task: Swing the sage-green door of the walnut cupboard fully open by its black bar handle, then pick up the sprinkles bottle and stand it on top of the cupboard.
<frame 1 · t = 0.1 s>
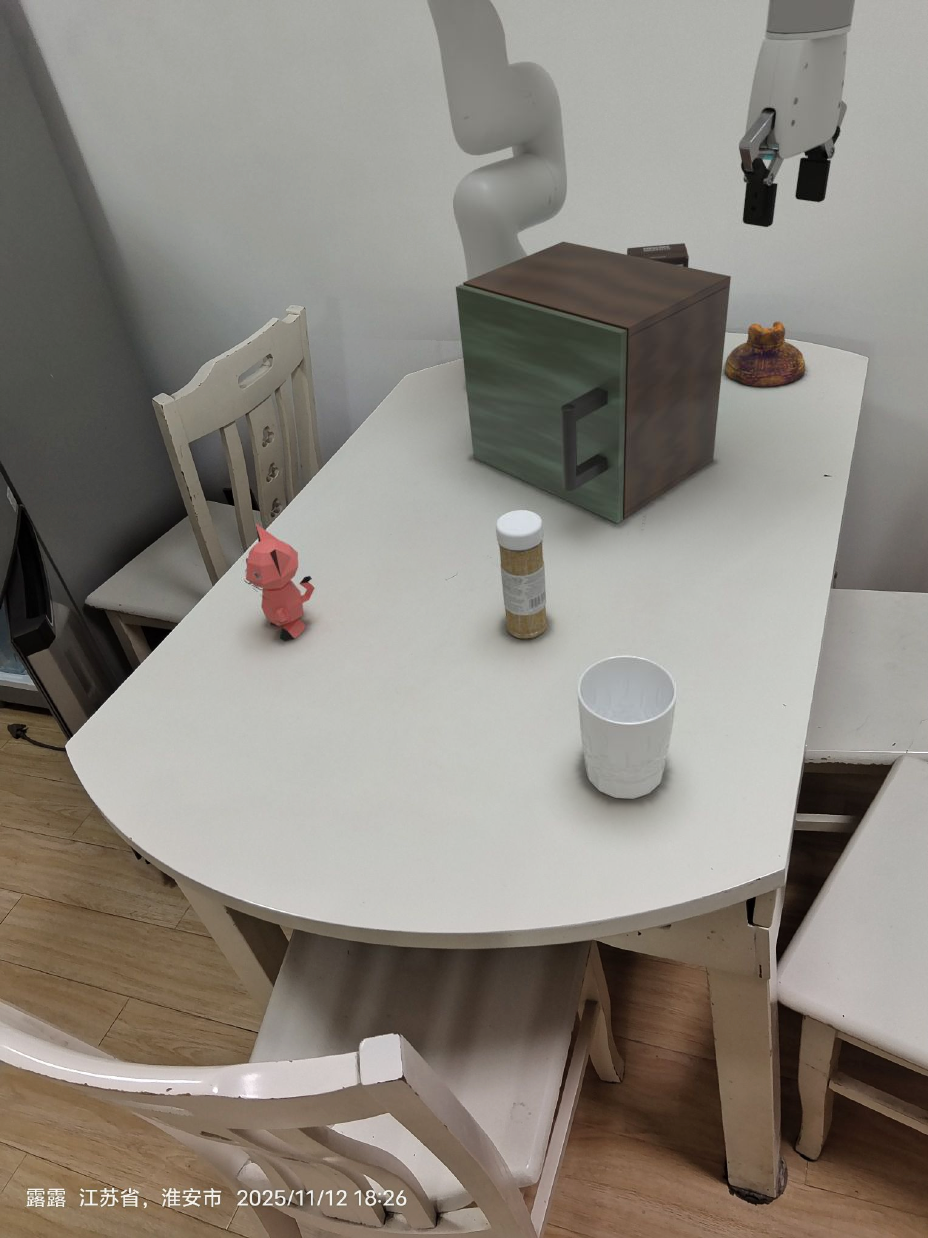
hand: (784, 211, 90), 31 cm above the table, tool pointing down, fingers open, 9 cm apart
white cup: (624, 770, 75), on the table
coffee box: (653, 353, 141), on the table
door: (520, 412, 103), point 12 cm above the table, hinge at 0.0°
cat figurine: (292, 625, 95), on the table
bell: (763, 372, 131), on the table
cupboard: (592, 458, 116), on the table
sprinkles bottle: (526, 628, 91), on the table
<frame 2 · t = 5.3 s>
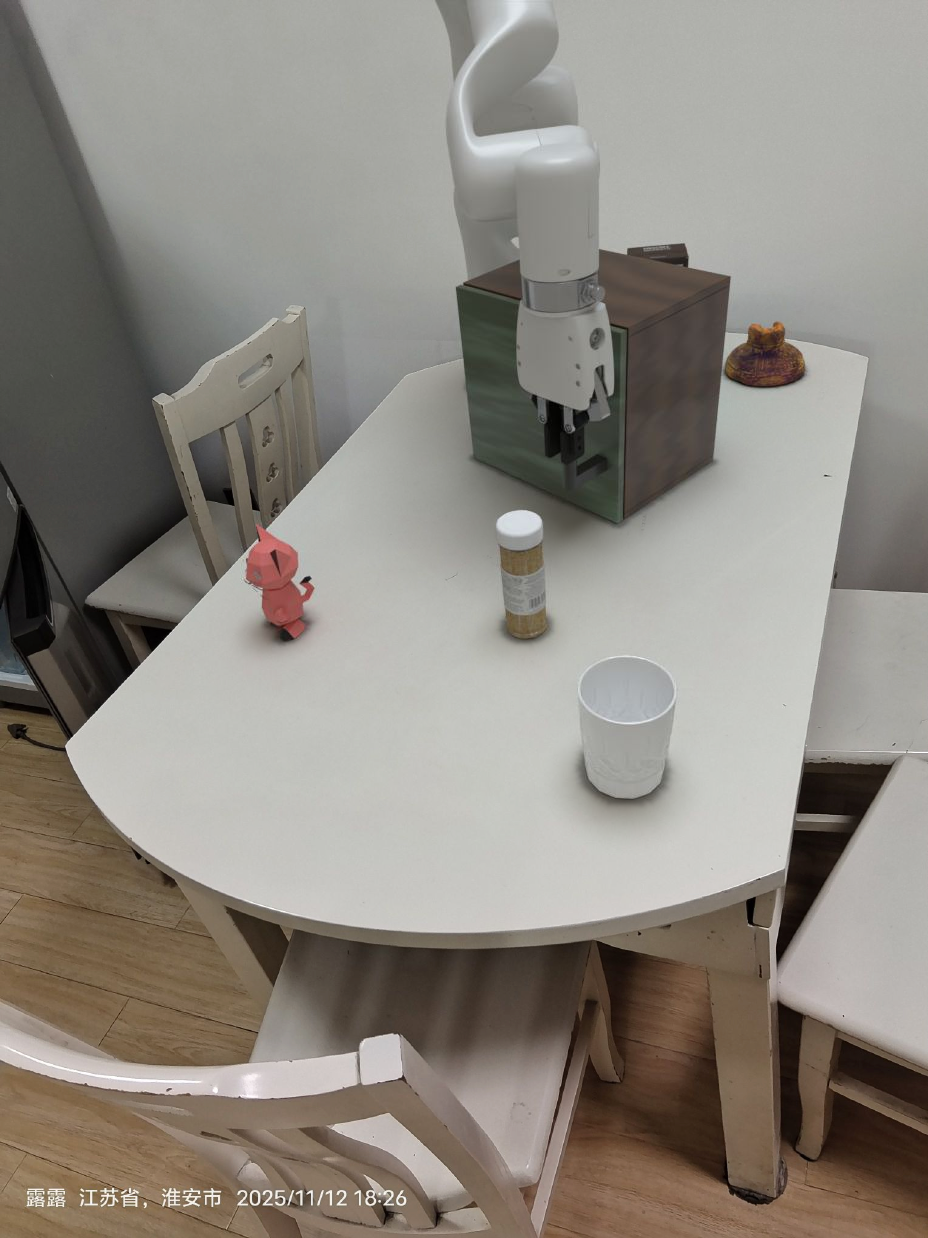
hand: (564, 455, 95), 12 cm above the table, tool pointing down, fingers closed on door
door: (520, 412, 103), point 12 cm above the table, hinge at 0.0°, touching gripper
everything else where it was.
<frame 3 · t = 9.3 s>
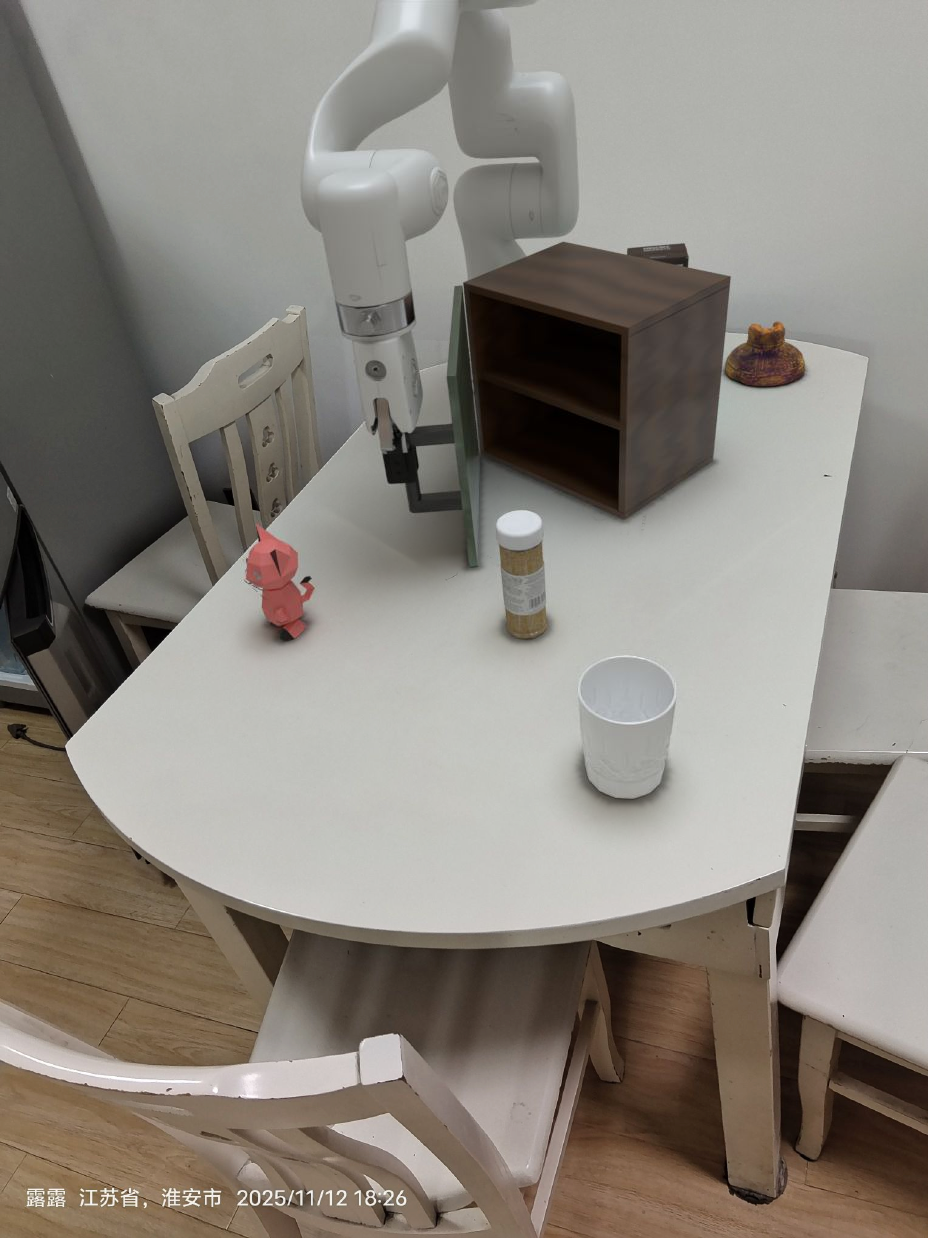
hand: (403, 475, 95), 12 cm above the table, tool pointing down, fingers closed on door
door: (439, 424, 102), point 12 cm above the table, hinge at 43.3°, touching gripper
everything else where it was.
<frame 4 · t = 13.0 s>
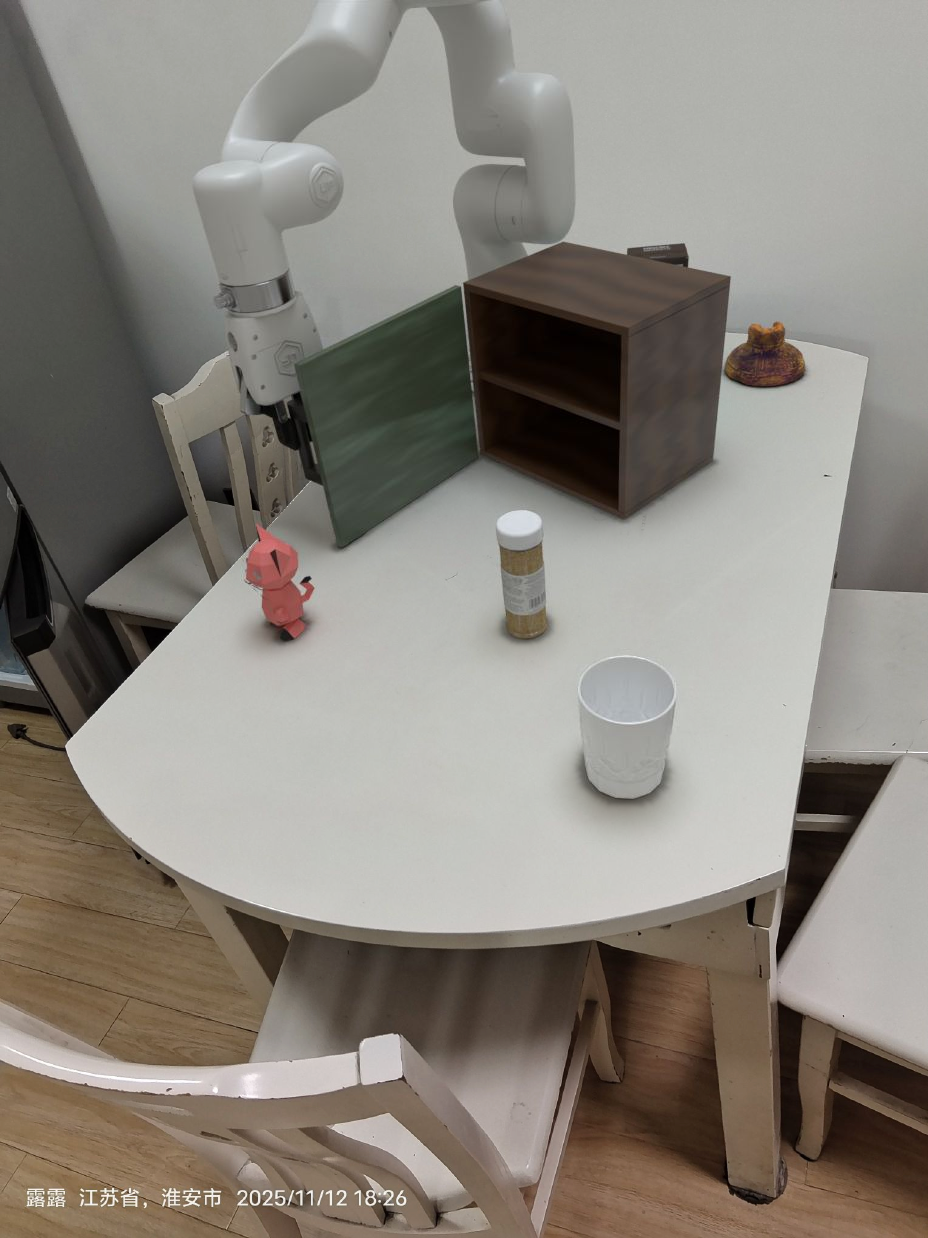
hand: (298, 441, 104), 12 cm above the table, tool pointing down, fingers closed on door
door: (380, 410, 107), point 12 cm above the table, hinge at 83.5°, touching gripper
everything else where it was.
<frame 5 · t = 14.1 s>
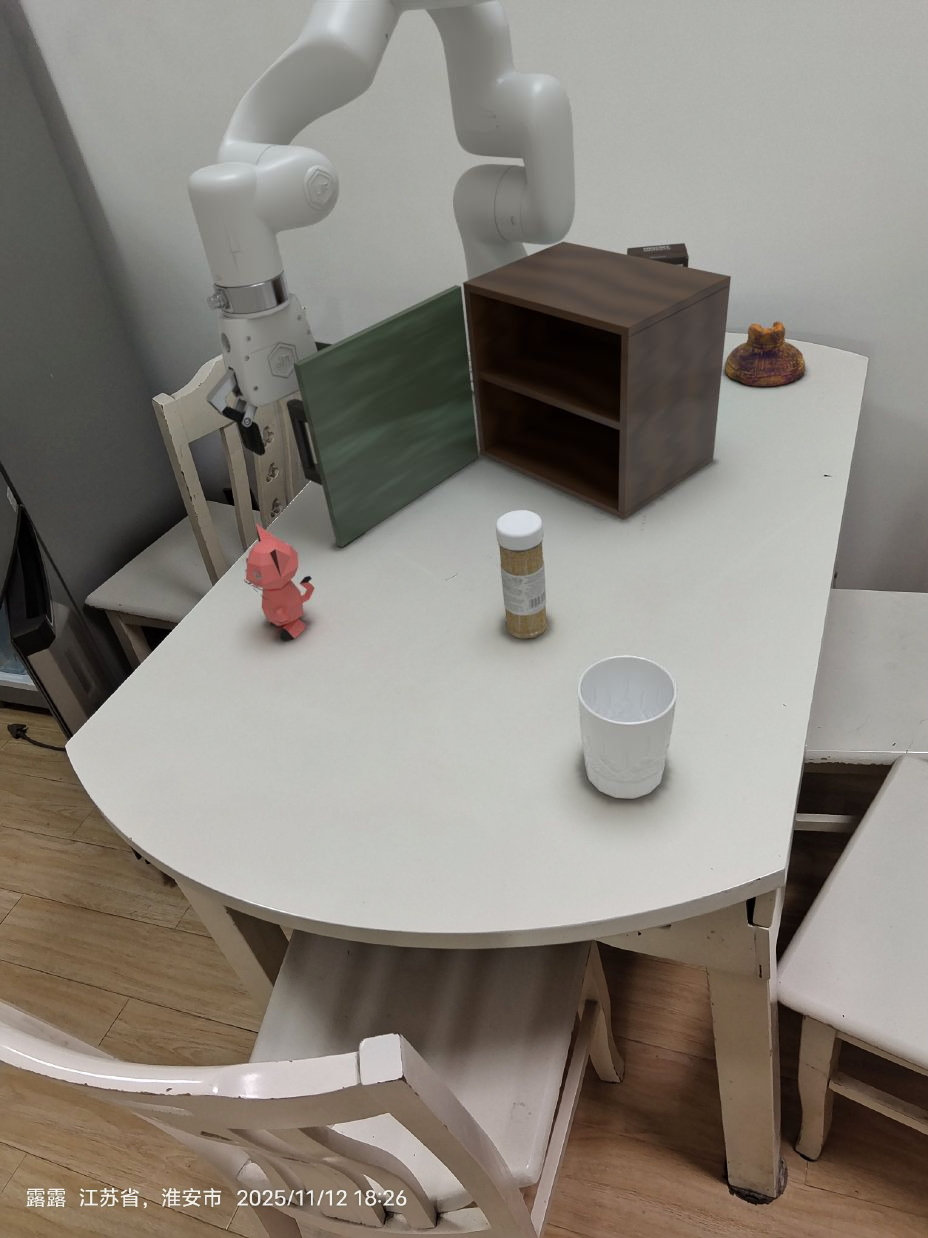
hand: (289, 435, 103), 13 cm above the table, tool pointing down, fingers open, 9 cm apart
door: (380, 410, 107), point 12 cm above the table, hinge at 83.7°
everything else where it was.
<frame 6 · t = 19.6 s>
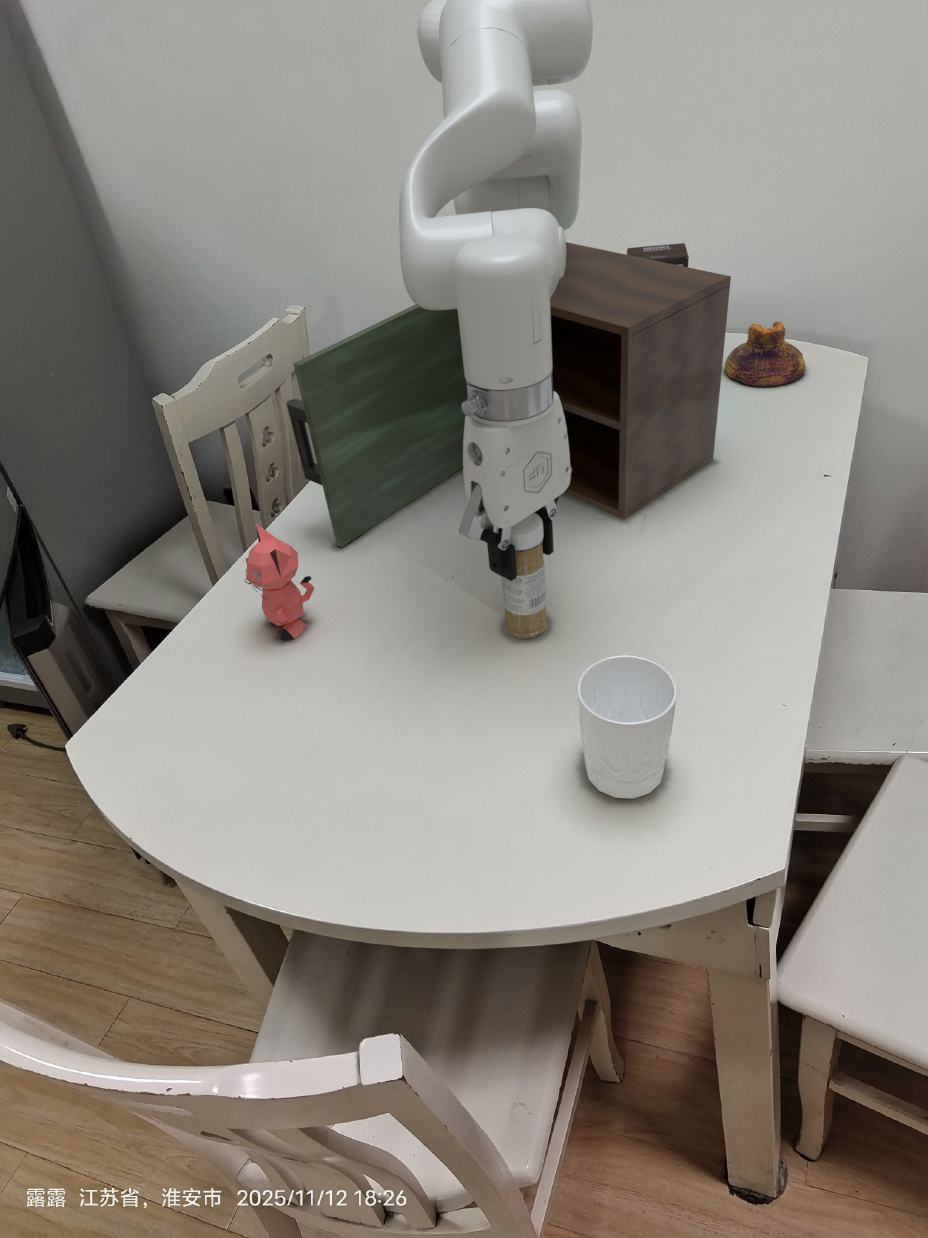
hand: (521, 560, 85), 9 cm above the table, tool pointing down, fingers closed on sprinkles bottle, 4 cm apart
sprinkles bottle: (526, 628, 91), on the table, touching gripper
everything else where it was.
when the fingers open (33 cm above the table, at t = 27.4 s): sprinkles bottle stays where it is, resting on cupboard.
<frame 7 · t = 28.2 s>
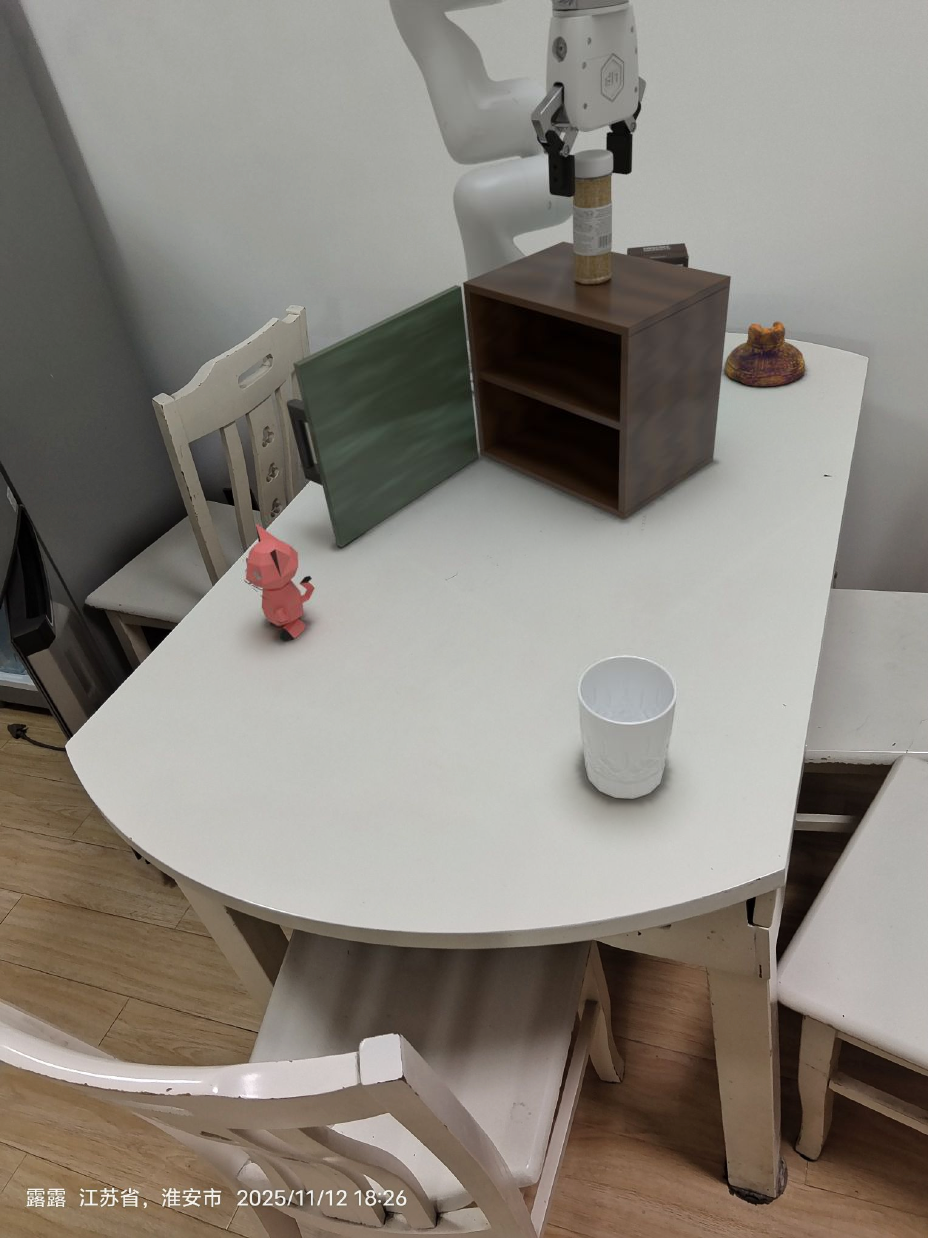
hand: (591, 183, 95), 34 cm above the table, tool pointing down, fingers open, 9 cm apart
sprinkles bottle: (592, 280, 101), point 24 cm above the table, touching cupboard
everything else where it was.
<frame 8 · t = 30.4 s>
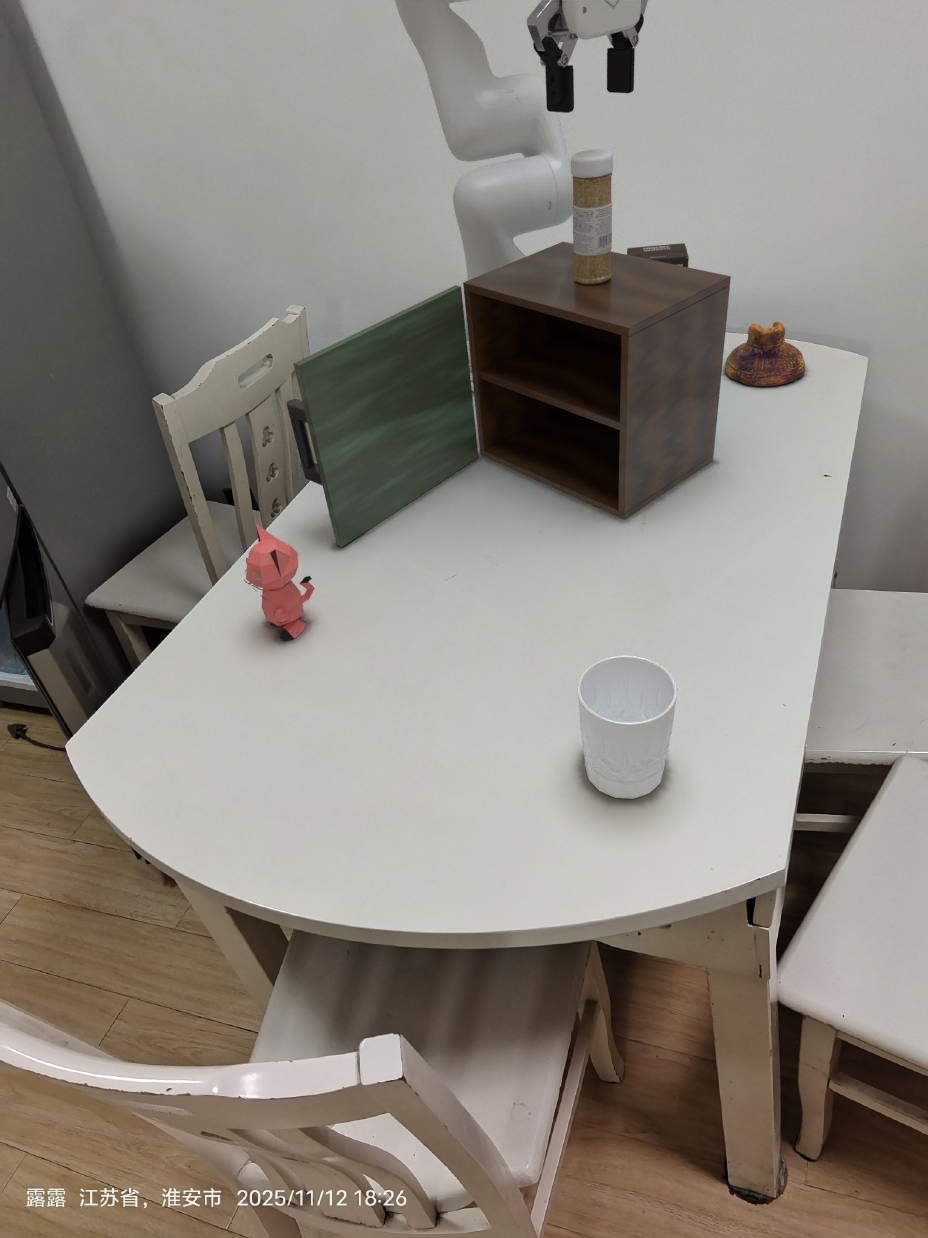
hand: (591, 101, 89), 42 cm above the table, tool pointing down, fingers open, 9 cm apart
nothing on the table moved.
at the end: door at +84° (first picture: +0°); sprinkles bottle inside the target area on the cupboard (0.1 cm from its centre), point 23.8 cm above the cupboard's base; sprinkles bottle tilted 0° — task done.
